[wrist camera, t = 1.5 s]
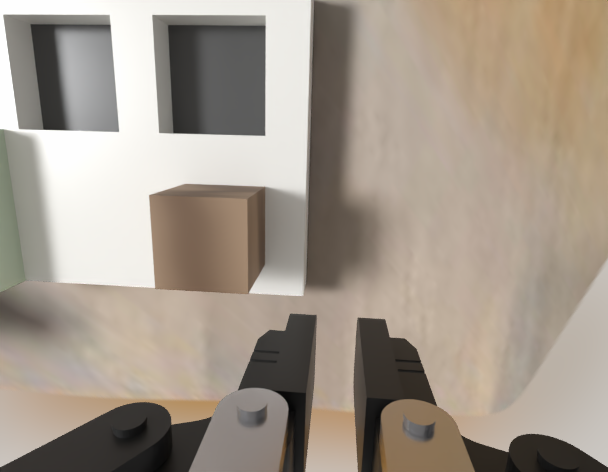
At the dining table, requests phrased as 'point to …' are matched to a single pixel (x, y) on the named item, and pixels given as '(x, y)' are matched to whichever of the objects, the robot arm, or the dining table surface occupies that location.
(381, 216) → the dining table surface
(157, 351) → the dining table surface
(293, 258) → the board
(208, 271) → the walnut block
